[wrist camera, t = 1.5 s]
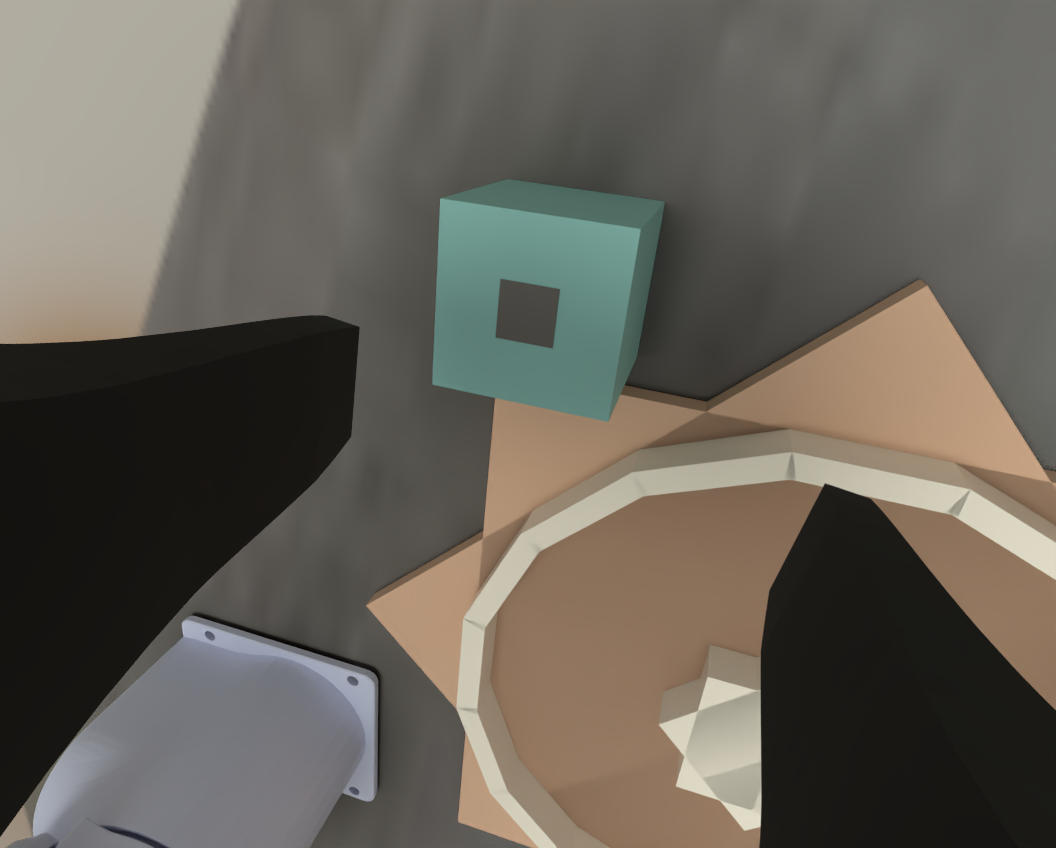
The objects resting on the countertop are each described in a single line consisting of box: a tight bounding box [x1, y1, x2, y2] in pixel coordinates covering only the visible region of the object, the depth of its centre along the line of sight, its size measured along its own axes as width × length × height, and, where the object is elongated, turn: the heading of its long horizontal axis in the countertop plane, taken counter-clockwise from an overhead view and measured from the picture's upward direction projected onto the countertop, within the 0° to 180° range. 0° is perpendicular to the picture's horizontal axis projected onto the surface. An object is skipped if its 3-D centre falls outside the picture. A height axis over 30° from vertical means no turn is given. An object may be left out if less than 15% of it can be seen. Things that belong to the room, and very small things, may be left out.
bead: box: [432, 179, 665, 422], centre depth 18 cm, size 4×4×5 cm
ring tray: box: [366, 279, 1056, 848], centre depth 23 cm, size 30×30×2 cm
